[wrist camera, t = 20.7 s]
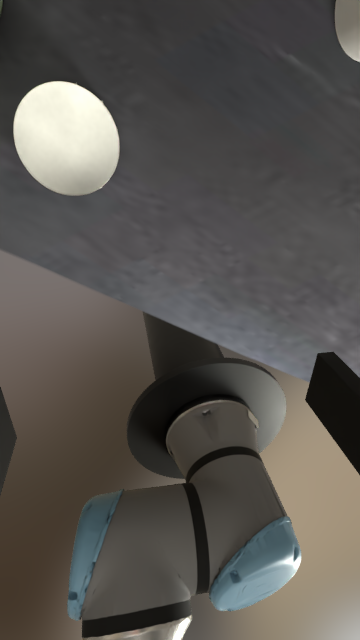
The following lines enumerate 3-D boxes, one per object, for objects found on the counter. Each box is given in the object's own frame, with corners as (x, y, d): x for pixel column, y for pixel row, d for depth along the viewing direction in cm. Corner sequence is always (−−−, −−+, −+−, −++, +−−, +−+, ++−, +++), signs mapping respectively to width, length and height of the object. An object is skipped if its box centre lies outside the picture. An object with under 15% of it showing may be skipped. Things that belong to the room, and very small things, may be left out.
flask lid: (-2, 118, 29) (-12, 119, 26) (81, 61, 28) (78, 56, 25) (63, 206, 33) (59, 213, 31) (135, 160, 32) (138, 163, 30)
